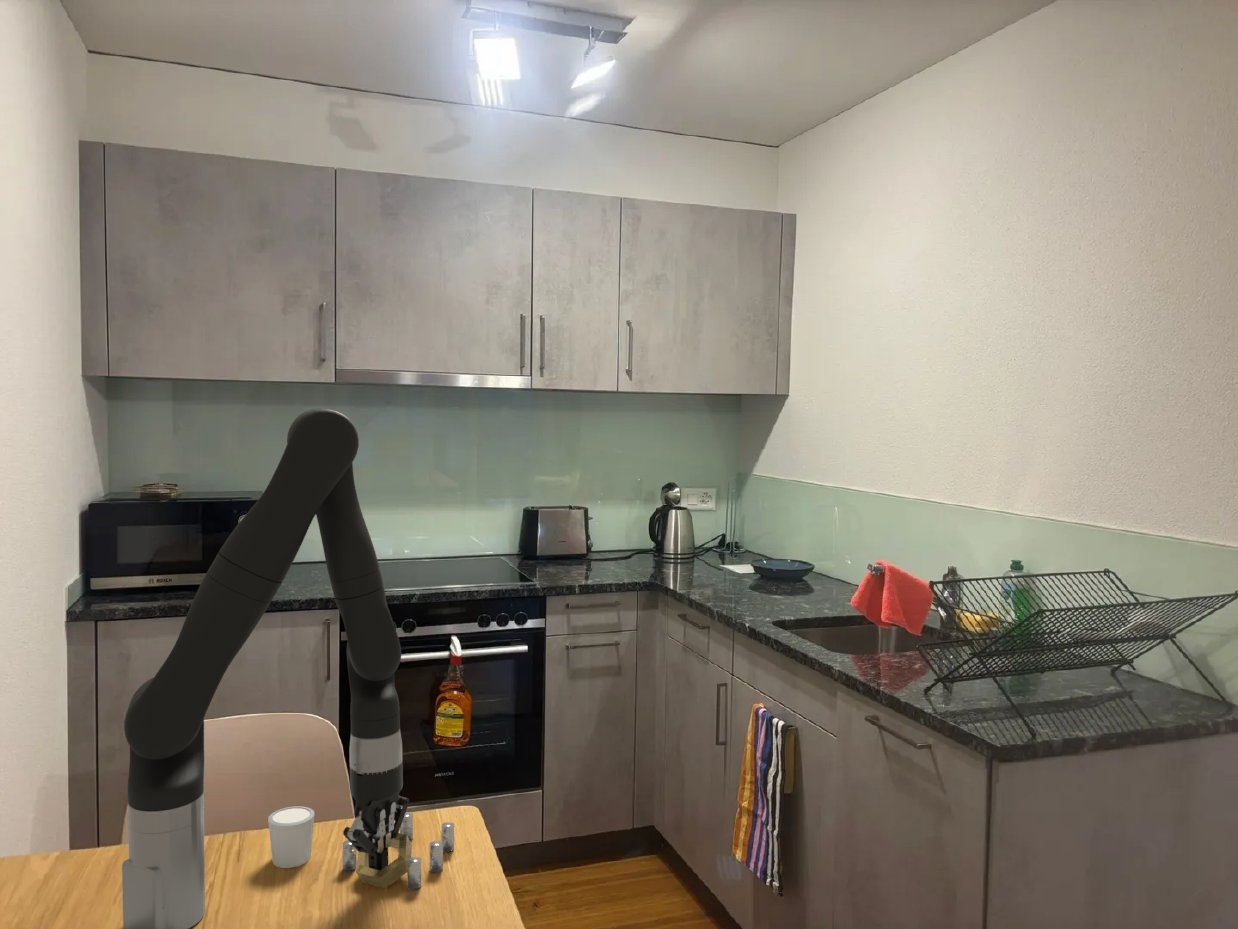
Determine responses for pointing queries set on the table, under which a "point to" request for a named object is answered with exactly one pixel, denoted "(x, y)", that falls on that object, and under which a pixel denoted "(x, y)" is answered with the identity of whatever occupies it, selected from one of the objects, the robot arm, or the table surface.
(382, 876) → the tan hexagonal ring
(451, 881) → the table surface
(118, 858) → the table surface
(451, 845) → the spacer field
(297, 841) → the white cup
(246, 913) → the table surface
